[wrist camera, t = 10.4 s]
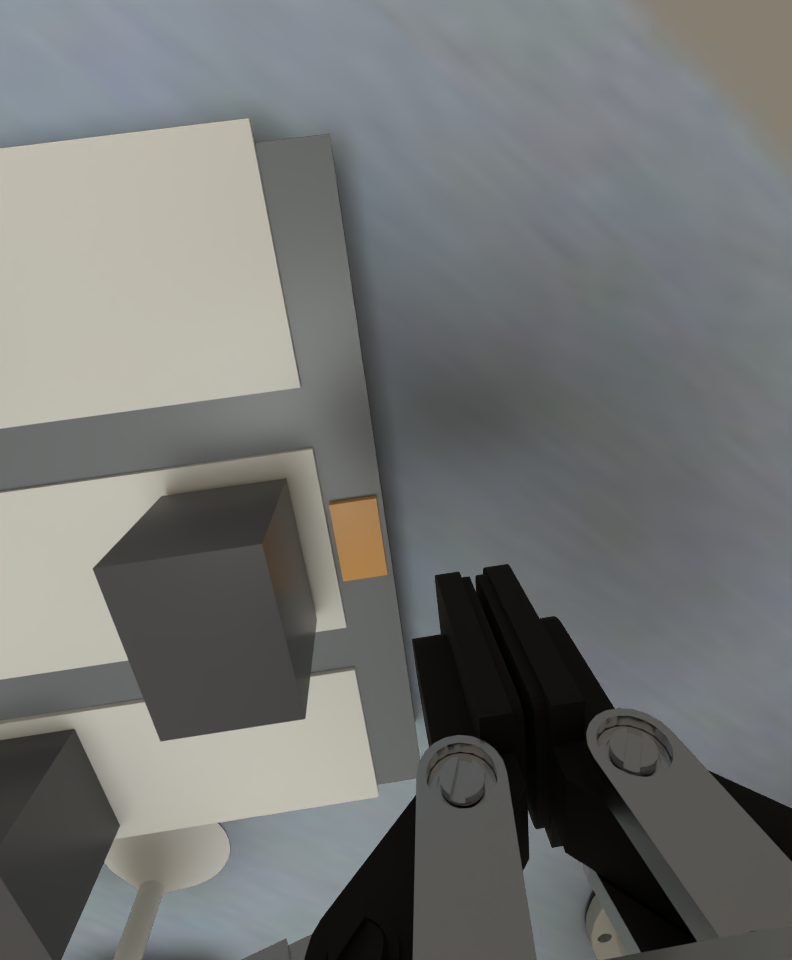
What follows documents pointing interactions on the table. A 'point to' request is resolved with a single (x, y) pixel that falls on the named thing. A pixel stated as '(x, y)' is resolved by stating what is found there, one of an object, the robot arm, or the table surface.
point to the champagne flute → (163, 873)
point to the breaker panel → (175, 488)
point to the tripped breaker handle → (215, 609)
